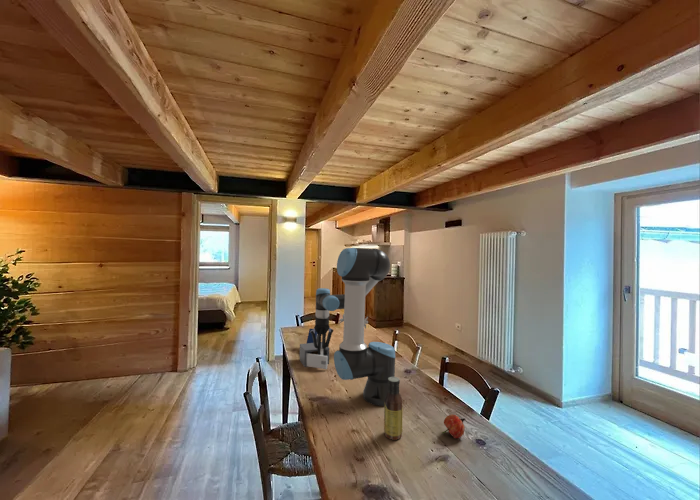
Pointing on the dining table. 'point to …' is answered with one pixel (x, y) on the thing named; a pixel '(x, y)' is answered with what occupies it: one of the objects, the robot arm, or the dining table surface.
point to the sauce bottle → (393, 410)
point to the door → (316, 361)
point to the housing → (310, 352)
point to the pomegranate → (454, 425)
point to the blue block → (309, 339)
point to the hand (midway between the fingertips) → (320, 360)
